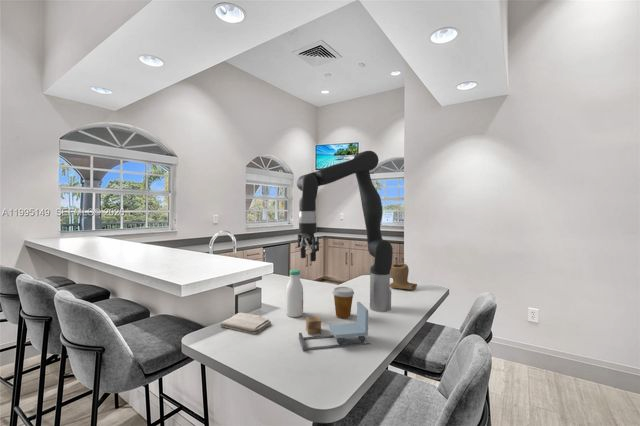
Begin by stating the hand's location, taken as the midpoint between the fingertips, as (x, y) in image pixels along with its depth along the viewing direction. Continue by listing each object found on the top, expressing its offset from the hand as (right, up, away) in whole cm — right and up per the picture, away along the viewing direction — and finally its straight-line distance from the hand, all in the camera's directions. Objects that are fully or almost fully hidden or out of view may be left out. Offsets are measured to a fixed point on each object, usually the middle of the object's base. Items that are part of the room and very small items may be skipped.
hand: (308, 259), depth 128 cm
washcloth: (-25, -27, -5) cm, 37 cm away
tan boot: (+54, -25, +50) cm, 78 cm away
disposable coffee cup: (+15, -26, +6) cm, 31 cm away
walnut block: (+2, -27, -10) cm, 29 cm away
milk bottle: (-6, -26, +7) cm, 28 cm away
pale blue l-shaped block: (+15, -27, -18) cm, 36 cm away
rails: (+10, -27, -19) cm, 34 cm away
